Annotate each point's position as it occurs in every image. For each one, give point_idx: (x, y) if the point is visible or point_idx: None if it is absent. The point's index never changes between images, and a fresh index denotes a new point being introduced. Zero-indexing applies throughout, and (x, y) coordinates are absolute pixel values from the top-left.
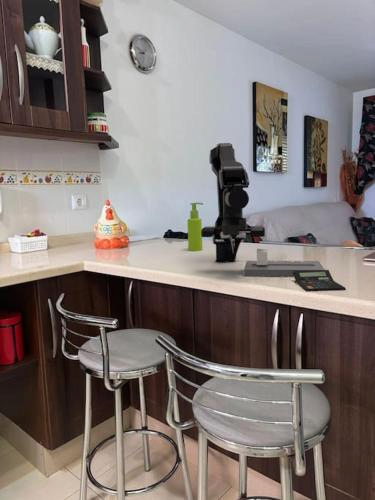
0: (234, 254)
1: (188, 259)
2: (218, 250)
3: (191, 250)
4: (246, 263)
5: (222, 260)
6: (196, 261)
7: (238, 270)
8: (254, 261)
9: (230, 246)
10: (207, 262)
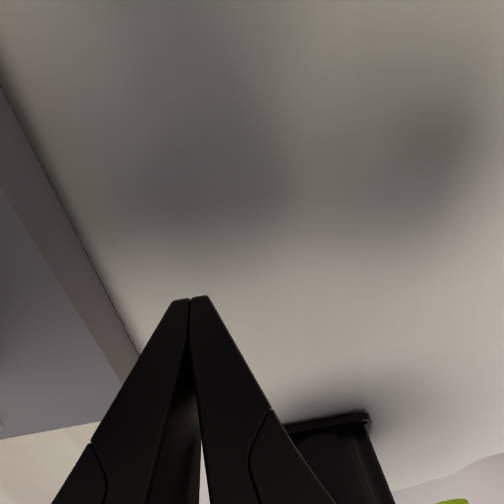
0: (167, 353)
1: (500, 417)
2: (375, 494)
3: (459, 501)
4: (84, 336)
5: (330, 426)
6: (468, 398)
7: (161, 261)
8: (58, 406)
9: (239, 490)
10: (411, 396)
